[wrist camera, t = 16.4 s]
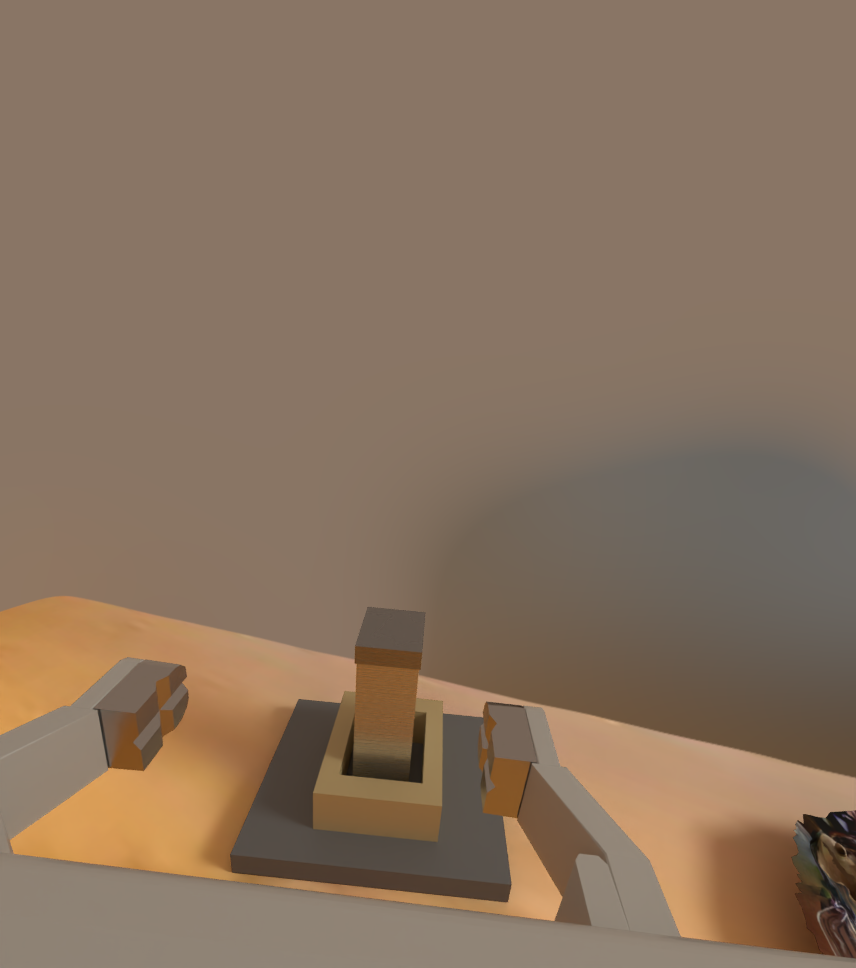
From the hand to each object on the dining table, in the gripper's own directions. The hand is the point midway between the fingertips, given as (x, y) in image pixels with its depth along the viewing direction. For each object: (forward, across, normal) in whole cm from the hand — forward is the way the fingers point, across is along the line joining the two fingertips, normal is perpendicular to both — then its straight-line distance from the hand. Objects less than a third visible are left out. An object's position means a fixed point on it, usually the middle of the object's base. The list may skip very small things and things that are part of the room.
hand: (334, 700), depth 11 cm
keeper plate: (+12, -1, +20) cm, 24 cm away
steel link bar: (+12, -1, +19) cm, 22 cm away
